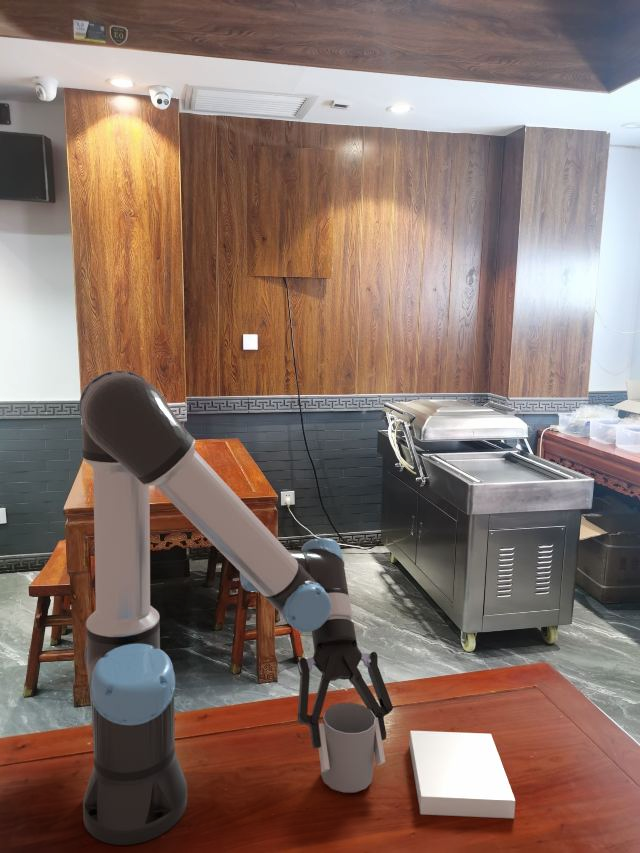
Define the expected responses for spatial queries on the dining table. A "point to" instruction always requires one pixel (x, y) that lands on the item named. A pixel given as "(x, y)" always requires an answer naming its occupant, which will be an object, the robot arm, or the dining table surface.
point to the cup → (349, 746)
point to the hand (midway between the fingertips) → (353, 766)
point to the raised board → (460, 775)
